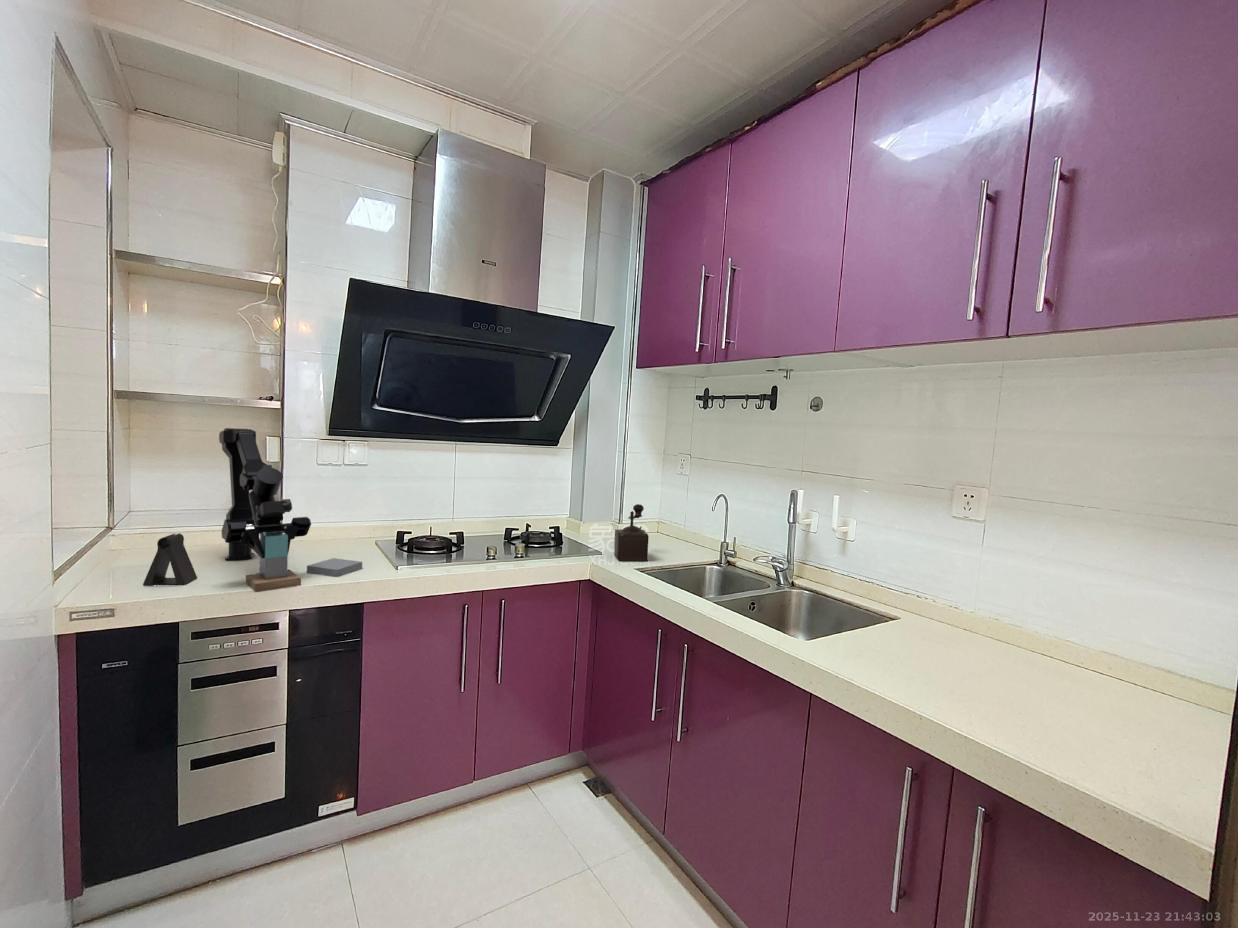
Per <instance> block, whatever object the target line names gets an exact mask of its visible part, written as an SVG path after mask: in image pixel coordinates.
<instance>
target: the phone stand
mask: <svg viewBox="0 0 1238 928" xmlns="http://www.w3.org/2000/svg"><path fill="white" fill-rule="evenodd" d="M184 541H185V538H184V535H183V534H182V533H180V532H179V533H173V534H169V535H167V536H163V537H161V538H159V539H158V540H157V542H156V543H157V544H156V545H157V551H156V553H155V555H154V557H153V560H152V562H151V564H150V567H149V569H148V572H147V574H146V577H145V579H144V580H143V583H142V585H143V587H150V586H151V587H156V586H157V585H164V586H165V585H175V586H186V585H187V584H189V583H191V582H193V581H195V580H196V579H197V578H198V575H197V573H196V571H195V569H194V567H193V564H192V561H191V560H190V557H189V554H188V552H187V550H186V547H185V545H184ZM169 566H171V569H172V572H173V576H174V577H166V575H167V572H168V569H169ZM154 585H156V586H154ZM157 587H158V586H157Z"/></svg>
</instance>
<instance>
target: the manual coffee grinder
mask: <svg viewBox="0 0 1238 928" xmlns="http://www.w3.org/2000/svg"><path fill="white" fill-rule="evenodd" d="M632 508H633V509H632V511H630V515H629V516H628V517H627V519H629V520H630V525H628V526H626V527H624V528H620V529H615V530H614V541H613V542H614V547H613V548H614V549H613V550H614V552H613V555H614V557H615V559H616V560H617V561H618V562H634V563H635V562H639V563H641V562H643V563H644V562H645V563H646V562H648V561H649V560H648V554H649V553H648V552H649V534H648V533H647V532H646V530H644V529H642V526H640V527H638V526H636V525H634V519H639V518H642V517H643V515H642V514H643V513H642V512H643V511H644V506H643V505H642V504H639V503H638V504H637V503H636V504H635V505H633V506H632Z"/></svg>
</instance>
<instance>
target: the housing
mask: <svg viewBox="0 0 1238 928" xmlns="http://www.w3.org/2000/svg"><path fill="white" fill-rule="evenodd" d="M259 539H260V542H261V545H262V548H263V551H264V558H261V557H260V556H259V573H260V576H261V577H262V578H263V579H264V580H269V579H276V578H283V577H287V570H288V560H289V559H288V557H289V552H288V535H287V534H285V533H284V532H273V533H266V532H263V533H261V534H259Z"/></svg>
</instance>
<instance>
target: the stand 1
mask: <svg viewBox="0 0 1238 928" xmlns="http://www.w3.org/2000/svg"><path fill="white" fill-rule="evenodd" d="M245 583H246V584H247V585H248V587H250V588H251V589H252V590H253V591H254V592H255V593H257V592H264V591H272V590H279V589H283V588H284V587H285V588H290V587H291V586H292V587H298V586H297V585H299V586H301V585H302V577H301V576H300V575H298V574H296V572H294V571H292V570H291V569H288V568H287V577H283V578H276V579H269V580H264V579H263V578H262V577H261V576H260V572H259V573H258V572H257V573H253V574H252V573H250V574H245ZM285 588H284V589H285Z"/></svg>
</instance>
